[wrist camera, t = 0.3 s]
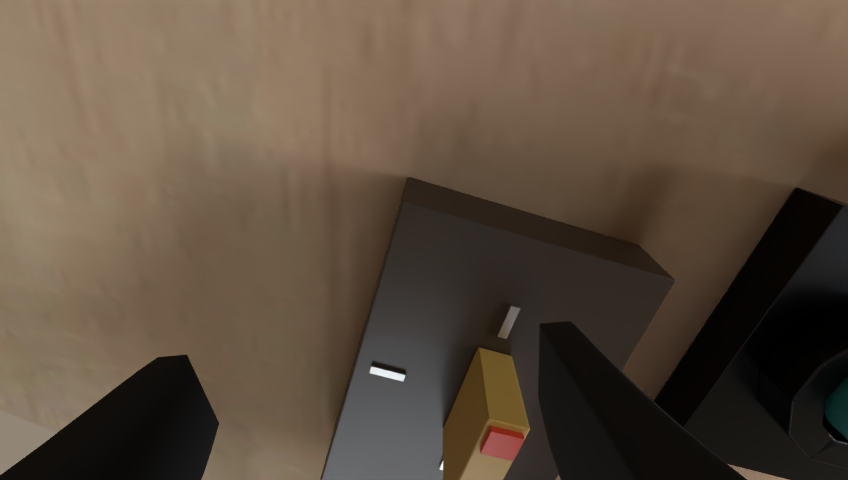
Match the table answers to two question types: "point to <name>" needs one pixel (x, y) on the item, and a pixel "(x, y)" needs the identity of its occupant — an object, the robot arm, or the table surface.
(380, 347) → the lock plate
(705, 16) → the table surface
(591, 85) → the table surface
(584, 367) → the robot arm
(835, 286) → the block
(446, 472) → the lock knob
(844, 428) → the bell button
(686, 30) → the table surface
